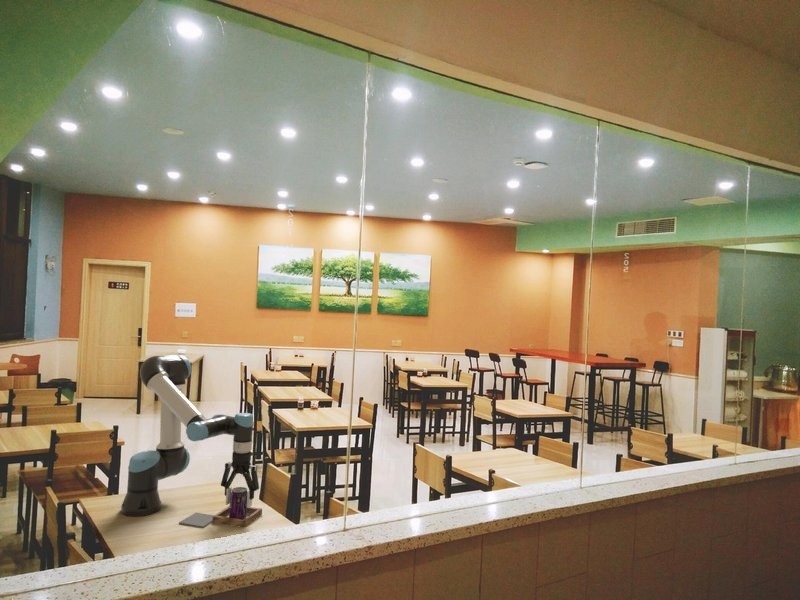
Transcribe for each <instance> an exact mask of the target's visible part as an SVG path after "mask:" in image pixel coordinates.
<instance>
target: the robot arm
mask: <svg viewBox="0 0 800 600" xmlns="http://www.w3.org/2000/svg"><path fill="white" fill-rule="evenodd" d="M191 373H192V364H191V363H190V360H189V359H188V358H187V357H186V356H184V355H182V354H166V355H153V356H150V357H148V358H146V360H144V361H143V362H142V364H141V366H140V369H139V377H140V380H141V382H142V384H143V385H144V386H145V388H146V389H147V390H148V391H153V393H155V394H156V396H157V397H158V398H159V399H160V419H159V420H160V421H159V422H160V424H159V425H160V426H159V427H160V428H159V429H160V430H159V433H160V434H159V443H158V444H157V445H156V447H155V450H154V449H153V450H152V449H151V450H146V451H145V450H144V451H140V452H137V453H135V454H134V455H132V456H131V458H130V459H129V461H128V462H129V464H128V466H127V467H128V468H127V470H128V474H127V475H128V476H127V486H126V487H127V488H126V489H127V490H126V494H125V497H124V499H123V502H122V504H121V506H120V507H121V508H120V512H121V514H122V515H125V516H129V517H140V516H141V517H142V516H143V517H144V516H146V515H147V516H148V515H151V514H154V513H156V512H158V511H160V510H161V508H162V501H161V499H160V494H159V490H158V487H159V481H160V480H164V479H166V478H170V477H172V476H173V477H174V476H177V475H179V474H181V473H183V472H184V471H185V470H186V469H187V468H188V466H189V464H190V460H191V459H190V458H191V457H190V453H189V451H188V449H187V448H186V447H185V443H184V442H183V441H182V439H181V438H182V437H181V436H182V424H183V425H184V426H185V427H186V429H185V434H186V436H187V439H188V440H189V441H191V442H198V441H204V440H208V439H210V438H215V437H218V436H221V435H228V436H233V439H232V440H233V441H232V453H231V454H232V456H231V459H232V460H231V461H232V462H230V461H228V462H225V463H224V470H223V475H222V479H221V482H220V486H221V487H224V496H225V505H226V506H227V505H228V506H229V505H230V494H231V492H232V489H233V488H232V483H233V482H234V479H235V477H236V475H239V474H240V475H242V476H243V478H244V479H245V482H246V485H247V489H248V490H247V492H248V494H247V508H249V507H253V506H252V505H253V504H252V503H253V500H254V497H255V492H256V491H258V490H259V489H260V485H259V478H258V477H259V476H258V465H252V463H251V460H252V445H253V431H254V415H253V414H252V413H251V412H250V413H249V412H239V413H236V414H235V415H234V416H230V415H226V414H214V415H213V416H212V417H211V418H208V419H207V418H206V417H205V416H204V415H203V413H201V412H200V411H199V409H197V407H196V406H195V405H194V404H193V403H192V402H191V401H190V399H188V398H187V397H186V396H185V395H184V394H183V392H182V391H183V387H185V385H186V380H187V379H188V378H189V377H190V375H191ZM231 468H232V471H231ZM230 471H231V473H230ZM229 475H230V476H229Z"/></svg>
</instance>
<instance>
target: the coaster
mask: <svg viewBox="0 0 800 600" xmlns="http://www.w3.org/2000/svg"><path fill="white" fill-rule="evenodd" d="M214 515H215V514H207V513H202V512H194V513H193V514H190V515H189V516H187V517H186V518H184V519H182V520H181V521H179V522H178V524H179V525H183V526H187V527H196V528H199V529H200V528H201V529H204V528H206V527H207V526H209V525H210V524H213V523H212V521H213V516H214Z"/></svg>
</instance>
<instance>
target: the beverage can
mask: <svg viewBox="0 0 800 600" xmlns="http://www.w3.org/2000/svg"><path fill="white" fill-rule="evenodd" d="M247 494H248V487H244V486H237V487H233V488H232V491H231V494H230V503H229V506H230V509H229V514H228V517H229V518H235V519H241V520H244V519H245V518H247V517H248V514H247Z"/></svg>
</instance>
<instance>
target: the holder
mask: <svg viewBox="0 0 800 600" xmlns="http://www.w3.org/2000/svg"><path fill="white" fill-rule="evenodd" d="M229 509H230V505H228V506H227V507H225V508H223V509H222V510H220V511H218V512H217V513H215V514H213V515H214V516H213V521H212V523H211V524H220V525H224V526H225V525H226V526H231V525H232V527H237V526H240V527H239V528H243V527H245V528H246V527H247V526H249V525H250V524H252V521H253V522H254V521H255V520H257V519H258V518H260V517H261V516H263V515H262V514H263V508H261V507H256V506H255V507H254V506H251V507H249V508H247V513H248V514H249V515H248V514H247V517H246V518H244V519H243V520H241V519H235V518H229ZM256 518H257V519H256ZM248 524H249V525H248Z"/></svg>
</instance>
